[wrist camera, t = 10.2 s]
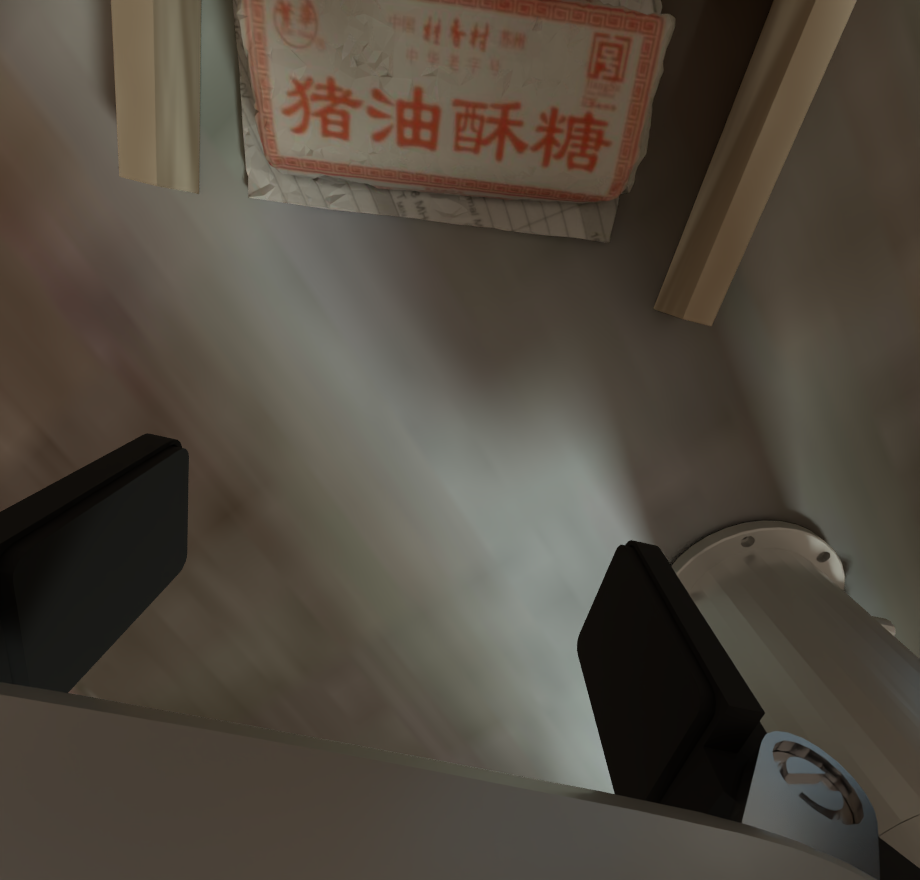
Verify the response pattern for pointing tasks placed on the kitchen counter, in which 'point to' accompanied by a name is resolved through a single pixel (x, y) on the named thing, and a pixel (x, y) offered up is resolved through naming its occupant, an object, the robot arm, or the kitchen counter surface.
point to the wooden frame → (717, 204)
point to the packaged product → (451, 107)
